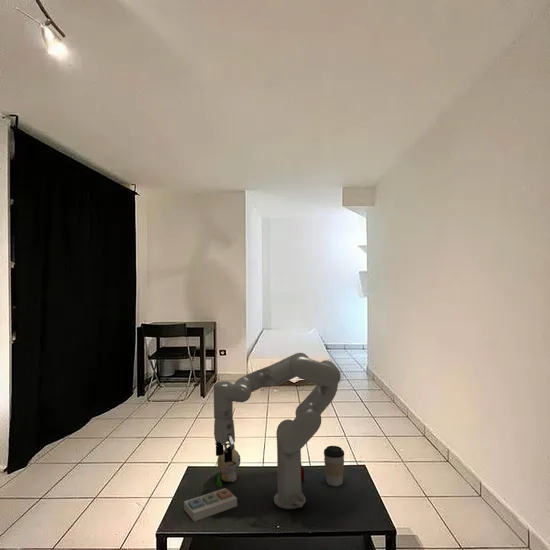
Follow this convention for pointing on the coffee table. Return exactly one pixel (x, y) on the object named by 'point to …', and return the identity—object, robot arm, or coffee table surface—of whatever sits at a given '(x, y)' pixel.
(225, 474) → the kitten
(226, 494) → the terracotta key
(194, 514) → the keypad
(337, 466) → the coffee cup
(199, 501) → the slate blue key
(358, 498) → the coffee table surface
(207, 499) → the sage key
